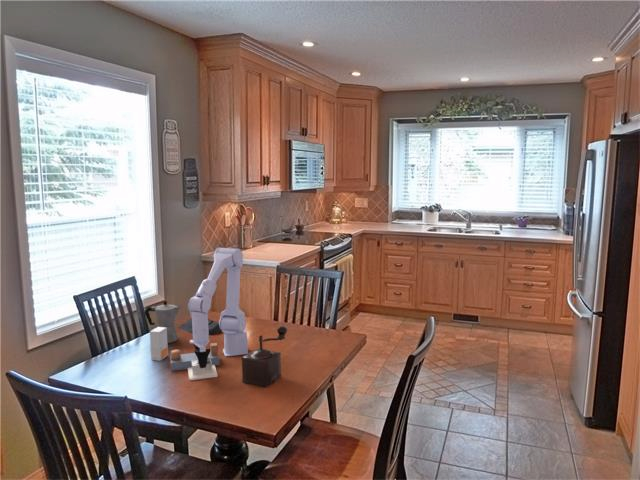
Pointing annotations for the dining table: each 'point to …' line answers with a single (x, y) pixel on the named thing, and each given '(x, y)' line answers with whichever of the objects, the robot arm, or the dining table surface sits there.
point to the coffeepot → (165, 319)
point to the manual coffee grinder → (263, 363)
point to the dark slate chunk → (212, 327)
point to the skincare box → (158, 343)
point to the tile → (202, 376)
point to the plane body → (191, 358)
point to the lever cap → (198, 370)
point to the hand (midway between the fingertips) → (202, 363)
